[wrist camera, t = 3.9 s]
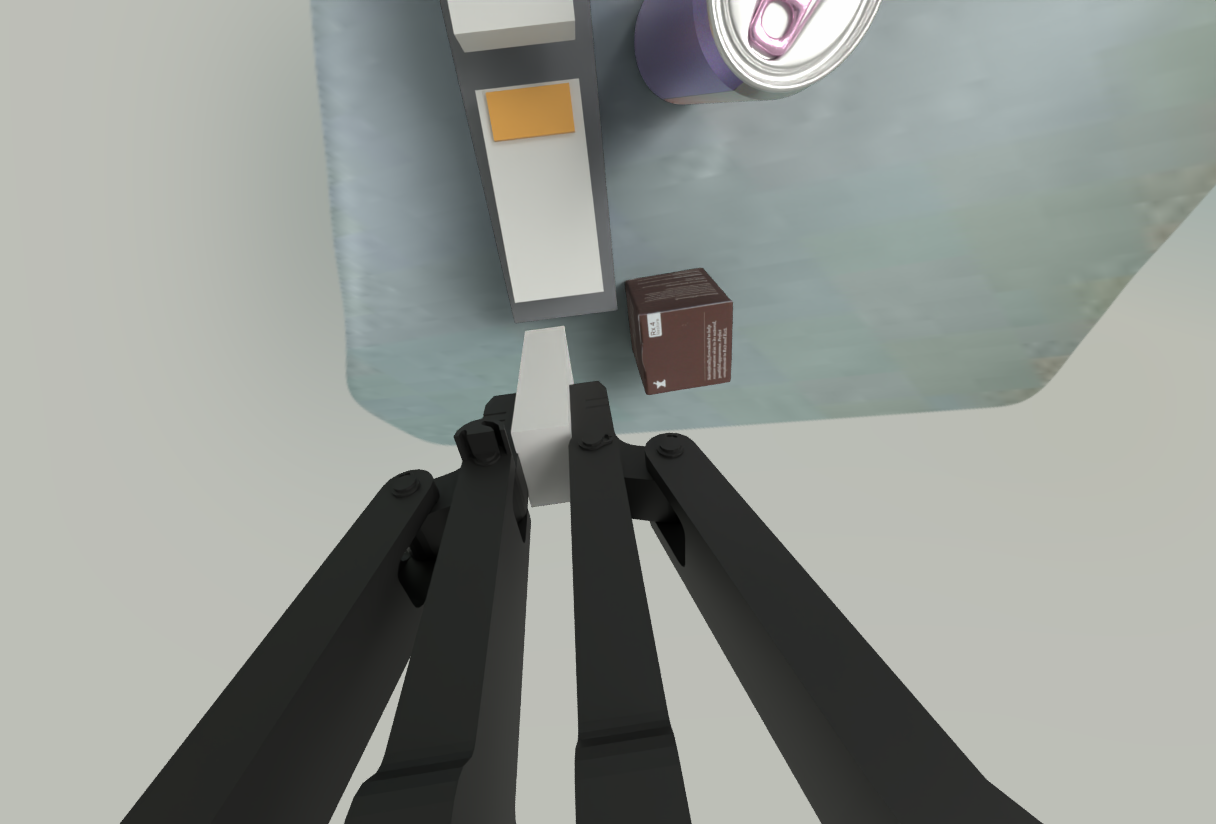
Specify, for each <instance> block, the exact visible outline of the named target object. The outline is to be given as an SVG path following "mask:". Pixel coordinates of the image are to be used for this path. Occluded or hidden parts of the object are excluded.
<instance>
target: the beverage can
mask: <svg viewBox="0 0 1216 824" xmlns="http://www.w3.org/2000/svg"><path fill="white" fill-rule="evenodd" d="M881 2H882V0H644V2H643V4H642V6H641V8H640V11H639V14H638V18H637V22H636V27H635V36H634V48H635V56H636V61H637V65H638V68H639V71H640V73H641V76H642V78H643V79H644V81H645V83H646V84H647V86H648V87H649V88H650V89H651V91H652V92H653V93H654V94H656V95H657V96H658V97H660V98H661V99H663V100H665V101H667V102H670V103H673V104H680V105H684V104H704V103H723V102H742V101H762V100H776V99H781V98H785V97H788V96H791V95H794V94H796V93H798V92H800V91H802V90H804V89H806V88H807V87H809V86H811V85H812V84H814V83H816V82H818V81H819V80H821V79H823V78H824V77H826V76H827V75H829V74H830V73H831V72H832V71H834V70H835V69H836V68H837V67H838V66H839V65H841V64H842V63H843V62H844V60H845V59H846V58H847V57H848V56H849V55H850V54H851V53H852V52H853V50H854V49H855V48H856V47H857V45H858V44H859V43H860V41H861V40H862V38H863V37H864V35H865V34H866V32H867V30H868V29H869V27H870V25H871V23H872V21H873V19H874V17H875V15H876V13H877V11H878V9H879V7H880V4H881Z"/></svg>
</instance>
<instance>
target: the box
mask: <svg viewBox="0 0 1216 824" xmlns="http://www.w3.org/2000/svg"><path fill="white" fill-rule="evenodd" d="M625 290H626V297H627V307H628V317H629V326H630V334H631V342H632V350H633V353H634V356H635V359H636V363H637V367H638V370H639V373H640V376H641V379H642V383H643V385H644V388H645V392H646V394H647V395H652V394H658V393H664V392H670V391H676V390H682V389H688V388H695V387H701V386H708V385H714V384H720V383H726V382H730V380H731V361H732V324H733V302H732V300H730V299H729V298H728V297H727V296H726V294H725V293H724V292H723V290H722V289H721V288H720V287H719V286H718V285H717V284H716V282H715V281H714V280H713V279H712V278H711V277H710V276H709V275H708V274H707V272H706V271H705V270H704V269H703V268H695V269H689V270H684V271H679V272H673V273H666V274H661V275H654V276H648V277H642V278H634V279H629V280H626V281H625Z"/></svg>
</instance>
